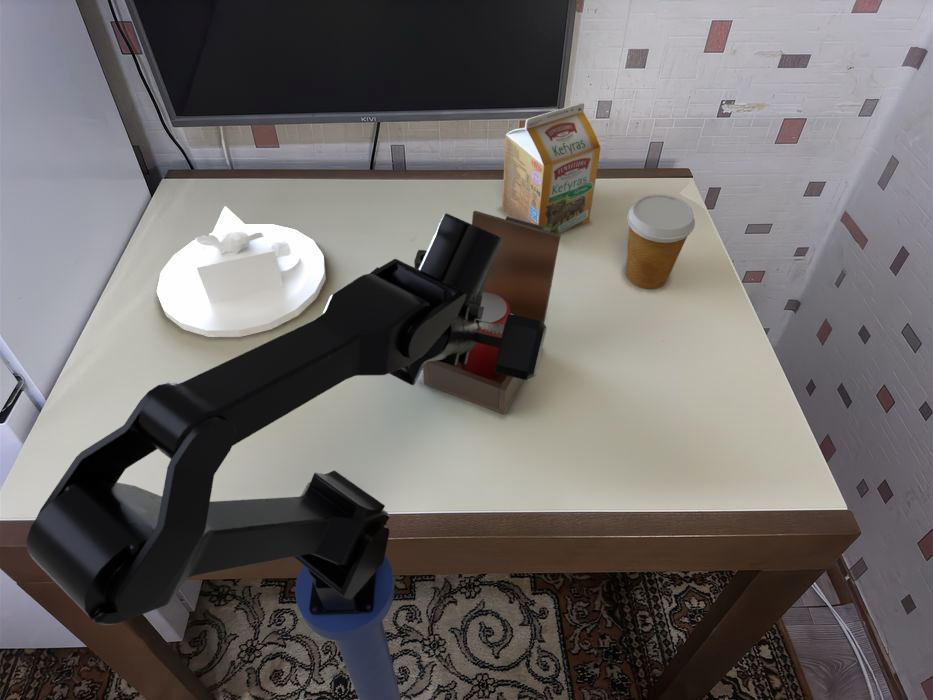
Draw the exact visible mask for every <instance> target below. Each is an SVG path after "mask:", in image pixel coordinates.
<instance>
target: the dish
mask: <svg viewBox="0 0 933 700" xmlns="http://www.w3.org/2000/svg"><path fill="white" fill-rule="evenodd" d="M194 239H195V240H192V241H191V242H190V243H188V244H187V245H186V246H184V247H183V248H182V249H180V250H179V251H178V252H177V253H175V254H174V255H172V257H171V258H170V260H169V261H168V262H167V264H165V266H164V267H163V269H162V270H161V272H160V274H159V279H158V283H157V288H156V294H157V297H158V299H159V302H160V305H161V307H162V309H163V312H164V314H165V316H166V318H168V319H169V320H171V321H172V322H173V323H175V324H176V325H177V326H179V327H180V328H181V329H182V330H183V331H187V332H191V333H194V334H196V335H201V336H204V337H209V338H243V337H246V336H249V335H254V334H258V333H263V332H266V331H270V330H271V331H272V330H273V329H275V328H277V327H279V326H281V325H283V324H285V323H287V322H288V321H291V320H293V319H294V318H296V317H298V316H299V315H300V314H301V313H303V312H304V311H305V310H306V309H307V308H308V307H310V306H311V304H313V303H314V302H315V300H316V299H318V296H319V294H320V292H321V290H322V289H323V286H324V285H325V282H326V279H327V277H326V261H325V255H324V254H323V251H321V249H320V248H319V246H318V245H317V244H316V241H314V239H312V238H310V237H309V236H307V235H305V234H303V233H302V232H300V231H298V230H297V229H293V228H289V227H285V226H281V225H277V224H272V223H269V224H268V223H267V224H264V223H263V224H262V223H261V224H260V223H257V224H255V223H254V224H253V223H250V224H245V222H243V221H242V220H241V218H239V217H238V216H237V215H236V214H235V213H233V212H232V211H231V210H230V209H229V208H228V207H227V206H225V205H224V207H223V209H222V211H221V213H220V215H219V217H218V219H217V222H216V224H215V226H214V228H213V231H212V232H211V233H209V234H208V233H204V234H200V235H196V236H195V237H194Z"/></svg>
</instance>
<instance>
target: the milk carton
mask: <svg viewBox="0 0 933 700" xmlns="http://www.w3.org/2000/svg"><path fill="white" fill-rule="evenodd" d="M584 110H585V104H584V103H583V102H579V103H576V104H572V105H569V106H566V107H563V108H562V107H561V108H559V109H556V110H552V111H549V112H544V113H542V114H539V115H535V116H532V117H529V118H527V119H526V120H525V123H524V126H521V127H519V128H516V129H512V130H509V131H508V132H507V133H505V138H504V139H505V140H504V142H505V143H504V162H503V165H504V166H503V181H502V182H503V183H502V204H501V205H502V206H501V210H502V211H503V212H504V213H505V214H506V215H507V216H509V217H512V218H516V219H519V220H523V221H526V222H530V223H533V224H537V225H540V226H543V227H544V231H547V232H551V233H554V234H558V235H561V234H562V233H565V232H568V231H571V230H573V229H575V228H578V227H581V226H585V225H586V224H589V223H590V216H591V211H592V204H593V198H594V191H595V187H596V180H597V173H598V167H599V161H600V154H601V148H602V147H601V144H600V141H599V138H598V136H597V134H596V132H595V130H594V128H593V126H592V124H591V122H590V120H589V119H588V117H587V115H586V113H585V112H584Z"/></svg>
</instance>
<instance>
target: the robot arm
mask: <svg viewBox="0 0 933 700" xmlns="http://www.w3.org/2000/svg"><path fill="white" fill-rule="evenodd" d="M502 241H503V239H502V238H500V237H499V236H497V235H495V234H492V233H490V232H488V231H486V230H483V229H481V228H479V227H476V226H474V225H472V223H469V222H467V221H465V220H463V219H461V218H458V217H456V216H453V215H452V214H449V213H447V212H445V213H443V215H442V216H441V219H440V221H439V223H438V225H437V227H436V230H435V232H434V234H433V236H432V239H431V241H430V243H429V245H428V247H427V249H426V250H425V249H418V250H417V253H416V255H415V257H414V260H413V262H414V263H413V264H414V266H412V265H410V264H408V263H406V262H403V261H401V260H400V259H398V258H394V259H391V260H390V261H388V262H387V263H384V264H383V265H382V266H379V267H378V266H376V267H375V269H373V270H372V271H371V272H369V273H366V274H363V275H361V276H359V277H357V278H356V279H354V280H352V281H350V282H349V283H348V284H346V285H345V286H343V287H342V288H340V289H339V290H337V291H336V292H334V293H333V294H331V295H330V296H329V298H328V301H327V303H326V305H325V308H324V310H323V311H322V313H321V314H320V315H319V316H318V317H316V318H315V319H312V320H311V321H309V322H307V323H305V324H303V325H301V326H299V327H297V328H295V329H293V330H290V331H288V332H286V333H284V334H282V335H280V336H278V337H276V338H273V339H272V340H271V339H270V340H269V341H267V342H265V343H263V344H260V345H258V346H256V347H254V348H252V349H250V350H248V351H246V352H244V353H241V354H239V355H237V356H235V357H233V358H231V359H229V360H227V361H225V362H223V363H221V364H219V365H216V366H214V367H211V368H210V369H208V370H205V371H204V372H203V371H202V372H201V373H199V374H197V375H195V376H193V377H191V378H188V379H186V380H184V381H182V382H169V381H168V382H167V381H166V382H164V383H161V384H158V385H155V387H153V388H152V389H150V390H148V392H147V393H145V395H144V396H143V397H142V398H141V399H140V401H138V403H137V405H136V406H135V408H134V409H133V411H132V413H131V414H130V415H129V417H128V418H127V420H126V421H125V423H124V424H123V425H122V426H120V427H118V428H117V429H115V430H114V431H112V432H110V433H109V434H108V435H105V437H103V438H101V439H100V440H98V441H96V442H95V443H94V444H92V445H90V446H88V447H87V448H85V449H84V450H82V451H81V452H80V453H79V454H78V455H77V456H76V457H75V458H74V460H73V461H72V463H71V464H70V466H69V467H68V469H67V470H66V471H65V473H64V474H63V476H62V477H61V479H60V480H59V482H58V483H57V485H56V486H55V487H54V489H53V491H52V492H51V493H50V495H49V496H48V498H47V499H46V501H45V502H44V503H43V504H42V506H41V508H40V510H39V512H38V514H37V515H36V517H35V519H34V521H33V522H32V524H31V525H30V527H29V531H28V534H27V537H26V551H27V553H28V554H29V556H30V557H31V559H32V560H33V561H34V562H35V563H36V564H37V566H39V567H40V568H41V569H42V570H43V571H44V573H46V575H47V576H48V577H49V578H50V579H51V580H52V581H53V582H54V583H55V584H56V585H57V586H58V587H59V588H60V589H61V590H62V591H63V592H64V593H65V594H66V595H67V596H68V597H69V598H70V599H71V600H72V601H73V602H74V603H75V604H76V605H77V606H78V607H79V608H80V610H82V612H83V613H84V614H86V615H87V617H88V618H89V619H90V620H92V621H93V622H94V623H95V624H97V625H101V626H112V625H117V624H120V623H124V622H126V621H130V620H132V619H135V618H137V617H139V616H142V615H144V614H147V613H149V612H152V611H155V610H157V609H161V608H163V607H165V606H167V605H169V604H170V602H171V601H172V599H173V598H174V597H175V595H177V593H178V591H179V590H180V589H181V588H182V586H183V585H184V583H185V582H186V580H188V578H192V577H195V576H201V575H206V574H211V573H217V572H222V571H227V570H232V569H237V568H243V567H248V566H253V565H259V564H264V563H269V562H274V561H280V560H286V559H291V558H293V559H295V560H296V561H297V562H299V563H300V564H301V565H302V566H303V565H304V566H305V567H306V568H308V570H309V573H310V576H311V578H312V581H313V582H312V590H311V598H310V605H309V611H310V613H311V614H312V615H335V614H368V613H371V612H372V611H373V609H374V597H375V581H376V571H377V569H378V568H379V567H380V566H381V565H382V564H383V561H384V556H386V551H387V547H388V543H389V537H390V528H389V527H388V526H387V523H388V521H389V520H390V514H389V513H388V512H387V511H386V510H385V507H386V505H385V504H384V503H382V502H381V501H379V500H377V498H376V497H373V496H372V495H370V494H369V493H368V492H366V491H365V490H363V489H362V488H361V487H359V486H358V485H356V484H355V483H353V482H352V481H351V480H349V479H347V477H345V476H344V475H342V474H341V473H339V472H338V471H336V470H331V471H330V472H327V473H321V472H317V471H314V473H313V475H312V477H311V480H310V482H307V484H306V486H305V487H304V490H303V491H302V493H301V494H300V495H299V496H288V497H287V496H286V497H268V498H252V499H234V500H233V499H231V500H213V501H211V496H212V490H213V484H214V479H215V474H216V473H217V472H218V470H219V469H220V467H221V466H222V464H223V462H224V461H225V459H226V457H227V456H228V454H229V453H230V451H231V449H232V447H233V446H235V445H237V444H238V443H240V442H242V441H243V440H246V439H247V438H249V437H250V436H252V435H253V434H256V433H257V432H259V431H260V430H262V429H264V428H266V427H267V426H269V425H270V424H272V423H275V422H276V421H277V420H279V419H281V418H283V417H284V416H286V415H288V414H290V413H291V412H293V411H295V410H297V409H299V408H300V407H301V406H303V405H305V404H307V403H309V402H310V401H312V400H313V399H316V398H317V397H318V396H320V395H322V394H325V392H327V391H329V390H331V389H332V388H335V387H336V386H337V385H339V384H341V383H342V382H344V381H346V380H348V379H351V378H353V377H360V376H361V377H363V376H365V377H371V376H372V377H375V376H376V377H379V376H382V377H383V376H386V375H388V374H389V375H391V376H393V377H395V378H397V379H398V380H400V381H402V382H405V383H406V384H408V385H410V386H415V385H416V384H417V381H418V379H419V377H420V374H421V373H422V372H423V366H424V364H425V363H426V362H427V361H439V362H443V363H447V364H451V365H457V363H458V362H459V363H463V364H467V360H468V355H469V351H471V349H472V348H473V347H474V345H475V343H476V342H477V343H481V344H485V345H490V346H494V347H498V348H499V352H498V356H497V360H496V366H495V373H499V374H503V375H507V376H511V377H515V378H519V379H523V381H529V380H531V379H533V378H535V377H536V376H537V371H538V369H539V364H540V359H541V355H542V350H543V346H544V341H545V338H546V333H547V329H548V327H547V325H546V324H545V323H544V322H543V321H539V320H535V319H530V318H526V317H522V316H517V315H513V314H508V317H507V319H506V322H505V325H504V326H502V325H498V324H494V323H489V322H485V321H481V319H482V315H483V310H484V307H481V302H482V293H483V289H484V286H485V283H486V280H487V278H488V275H489V269H490V266H491V264H492V262H493V260H494V258H495V256H496V254H497V252H498V250H499V247H500V245H501V243H502ZM477 319H480V320H477ZM480 328H481V331H483V330H484V329H485V332H487V330H489V333H490V332H491V331H492V333H493V334H494V333H495V331H496V334H498V333H500V335H502V338H500V337H496V336H492V335H487V334H483V333H479V332H478V330H480ZM502 333H503V334H502ZM157 450H159V451H160V452H161V453H162V454H163V455H165V456H166V457H167V458H168V459H170V461H169V463H168V465H167V469H166V473H165V479H164V485H163V490H162V496H161V495H159V494H156V493H154V492H152V491H149V490H147V489H144V488H142V487H138V486H136V485H134V484H127V483H123V482H118V481H119V480H120V478H121V476H122V475H124V472H125V471H126V469H128V468H129V467H131V466H133V465H134V464H136V463H137V462H139V461H140V460H143V459H145V458H146V457H147V456H149V455H150V454H152V453H154V452H156V451H157ZM368 606H370V607H371V608H370V609H366V608H367V607H368ZM313 608H317V609H316V610H315V611H312V609H313Z"/></svg>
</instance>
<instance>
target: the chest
mask: <svg viewBox="0 0 933 700" xmlns="http://www.w3.org/2000/svg"><path fill="white" fill-rule="evenodd" d="M422 373H423V375H422V376H423V385H425V386H427V387H432V388H434V389H437V390H439V391H441V392H444V393H446V394H448V395H452V396H454V397H456V398H459V399H462V400H465V401H467V402H470V403H472V404H475V405H477V406H480V407H482V408H485V409H488V410H491V411H493V412H496V413H498V414H500V415H505V414H506V412H507V410H508V409H509V407H510V405H511V403H512V402H513V399H514V398H515V396H516V394H517V392H518V391H519V389H520V387H521V385H522V384H523V382H524V380H523V379H519V378H515V377H511V376H507V375H503V374H501V375H500V376H498V377H496V378H494V379H490V380H489V379H486V378H484V377H481V376H478V375H476V374H473V373H470V372H467V371H465V370H463V369H462V366H461V363H459V362H458V363H457V365H451V364H447V363H443V362H439V361H427V362H426V363H425V364H424V366H423V368H422Z"/></svg>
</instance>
